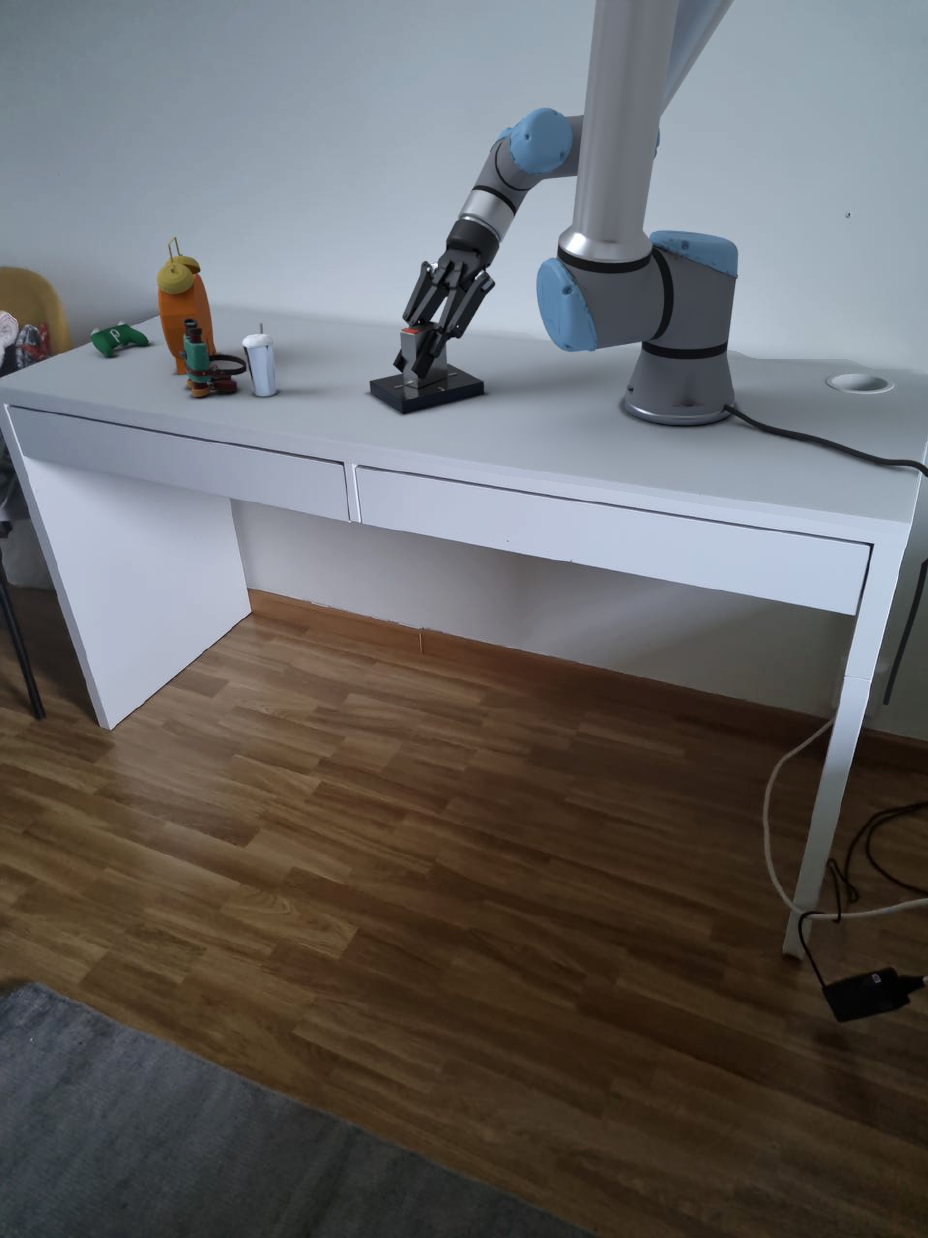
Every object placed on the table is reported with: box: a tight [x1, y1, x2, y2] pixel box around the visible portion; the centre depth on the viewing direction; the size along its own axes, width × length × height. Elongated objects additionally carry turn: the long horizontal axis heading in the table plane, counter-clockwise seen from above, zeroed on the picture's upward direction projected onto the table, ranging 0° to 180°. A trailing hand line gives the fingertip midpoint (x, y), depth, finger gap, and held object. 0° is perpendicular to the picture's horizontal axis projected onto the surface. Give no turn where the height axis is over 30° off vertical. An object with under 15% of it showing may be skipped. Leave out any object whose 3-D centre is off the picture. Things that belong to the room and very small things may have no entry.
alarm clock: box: [156, 236, 218, 375], centre depth 148 cm, size 13×6×20 cm, turn 6°
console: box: [369, 362, 485, 415], centre depth 136 cm, size 14×11×2 cm
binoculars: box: [179, 318, 248, 398], centre depth 140 cm, size 9×11×10 cm
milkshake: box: [241, 322, 277, 398], centre depth 137 cm, size 4×5×10 cm
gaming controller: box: [90, 319, 150, 358], centre depth 162 cm, size 9×4×6 cm
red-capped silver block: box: [399, 320, 448, 388], centre depth 133 cm, size 6×3×8 cm, turn 137°
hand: (408, 371), depth 132 cm, fingers closed on red-capped silver block, 3 cm apart
